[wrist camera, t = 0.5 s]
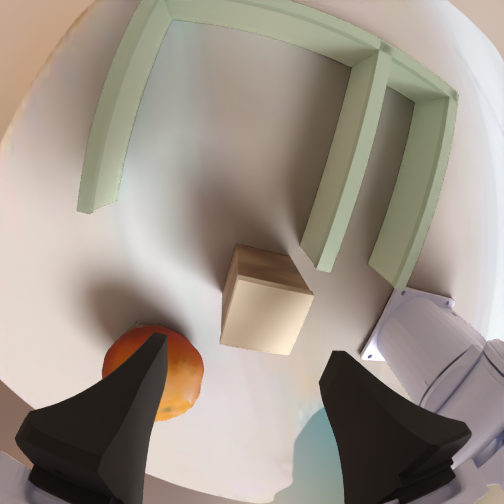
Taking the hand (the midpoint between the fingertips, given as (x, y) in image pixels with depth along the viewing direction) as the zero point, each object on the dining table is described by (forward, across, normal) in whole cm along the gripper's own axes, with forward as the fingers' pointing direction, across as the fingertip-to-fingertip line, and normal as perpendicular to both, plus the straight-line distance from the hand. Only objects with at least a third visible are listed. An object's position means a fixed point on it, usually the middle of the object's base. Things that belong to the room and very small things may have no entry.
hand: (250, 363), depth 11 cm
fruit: (+10, +6, +8) cm, 14 cm away
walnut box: (+9, -1, 0) cm, 9 cm away
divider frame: (+9, -1, -10) cm, 14 cm away
